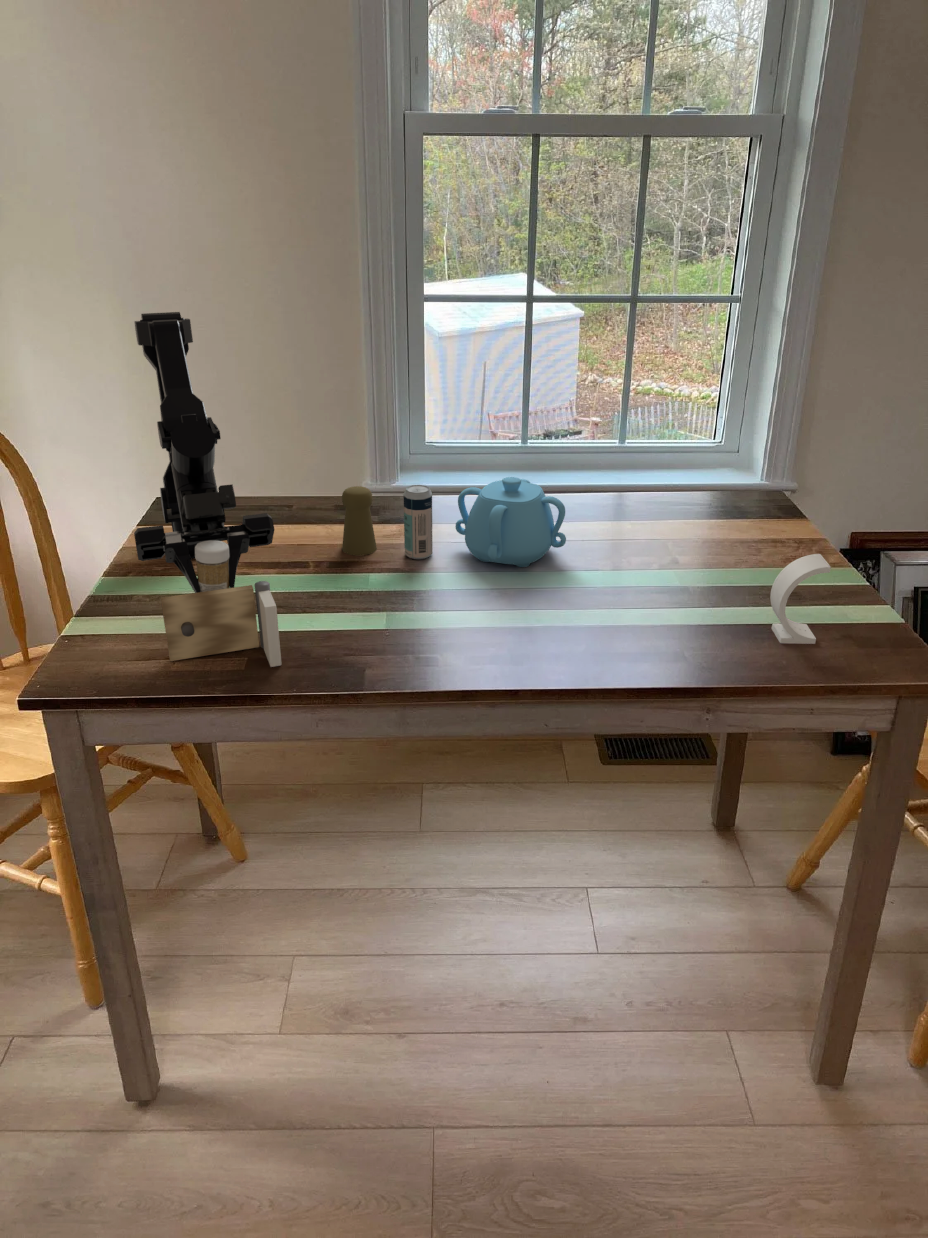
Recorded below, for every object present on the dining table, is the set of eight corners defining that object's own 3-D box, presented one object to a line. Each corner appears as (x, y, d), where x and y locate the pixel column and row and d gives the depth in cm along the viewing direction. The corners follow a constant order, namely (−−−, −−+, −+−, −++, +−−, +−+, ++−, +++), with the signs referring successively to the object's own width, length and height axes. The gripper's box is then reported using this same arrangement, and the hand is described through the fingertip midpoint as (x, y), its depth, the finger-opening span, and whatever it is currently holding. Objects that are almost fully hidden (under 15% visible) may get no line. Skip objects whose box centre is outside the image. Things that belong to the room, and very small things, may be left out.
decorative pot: (572, 567, 158) (577, 490, 152) (482, 579, 153) (484, 499, 147) (534, 532, 172) (537, 460, 166) (450, 542, 167) (450, 468, 161)
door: (257, 643, 133) (251, 585, 128) (260, 650, 131) (254, 592, 126) (169, 657, 129) (160, 597, 125) (171, 665, 127) (161, 605, 123)
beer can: (437, 552, 163) (437, 486, 157) (424, 562, 159) (424, 495, 153) (412, 548, 164) (411, 482, 159) (399, 557, 161) (398, 490, 155)
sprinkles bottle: (235, 627, 137) (232, 540, 131) (227, 641, 132) (224, 552, 127) (203, 625, 137) (200, 537, 131) (194, 638, 132) (190, 549, 127)
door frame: (259, 643, 133) (253, 582, 129) (273, 641, 134) (268, 580, 129) (268, 667, 127) (262, 604, 123) (283, 664, 128) (277, 601, 123)
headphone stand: (815, 643, 135) (831, 567, 129) (772, 643, 135) (786, 566, 129) (805, 628, 139) (820, 553, 133) (764, 628, 139) (777, 553, 133)
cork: (374, 555, 161) (372, 494, 156) (339, 555, 161) (336, 494, 156) (378, 542, 167) (376, 482, 162) (344, 541, 167) (341, 482, 162)
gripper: (124, 472, 124) (142, 582, 120) (266, 458, 130) (287, 562, 126) (129, 508, 134) (146, 610, 130) (261, 493, 140) (281, 591, 136)
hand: (215, 593), depth 130 cm, fingers closed on sprinkles bottle, 4 cm apart
